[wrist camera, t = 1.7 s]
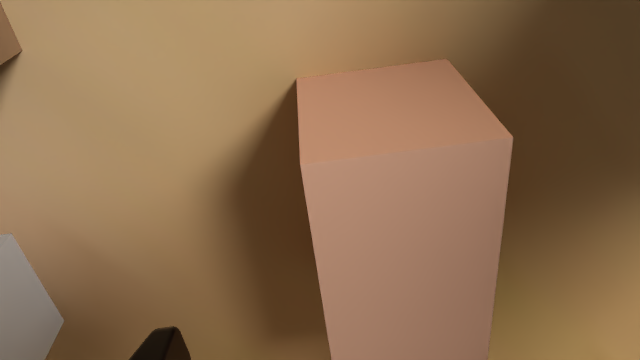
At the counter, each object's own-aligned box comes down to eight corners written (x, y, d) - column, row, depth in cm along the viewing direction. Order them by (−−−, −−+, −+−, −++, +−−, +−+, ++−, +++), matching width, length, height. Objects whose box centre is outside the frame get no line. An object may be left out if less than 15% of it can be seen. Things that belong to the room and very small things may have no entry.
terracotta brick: (296, 76, 11) (299, 164, 8) (445, 56, 11) (512, 137, 8) (324, 266, 15) (335, 385, 11) (440, 251, 14) (486, 366, 11)
